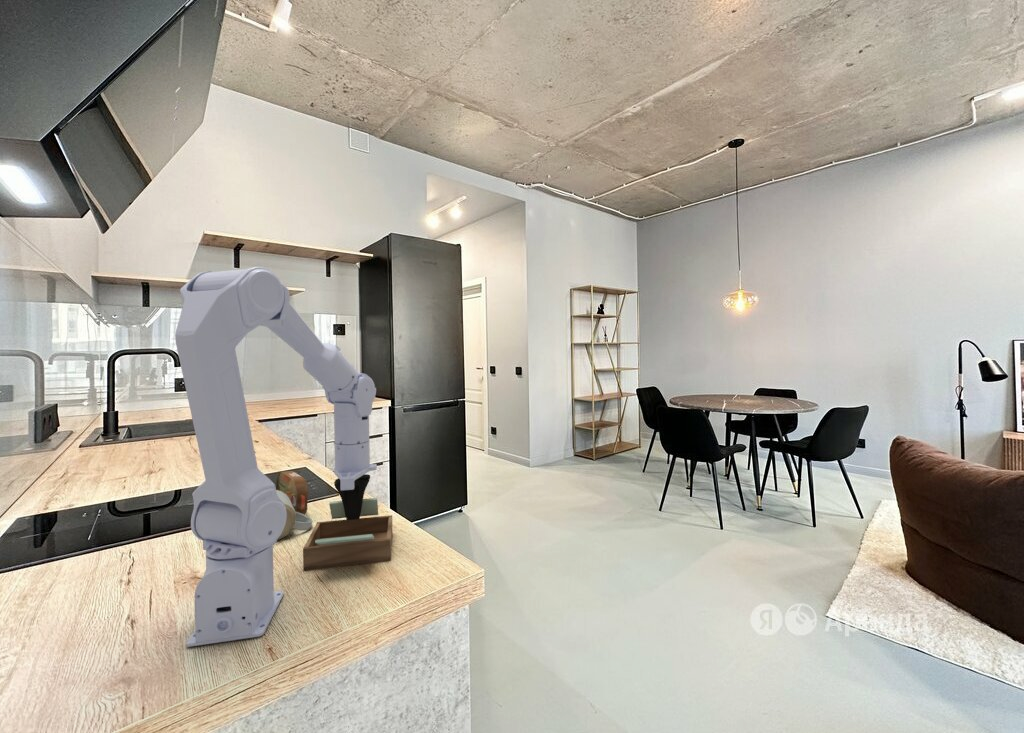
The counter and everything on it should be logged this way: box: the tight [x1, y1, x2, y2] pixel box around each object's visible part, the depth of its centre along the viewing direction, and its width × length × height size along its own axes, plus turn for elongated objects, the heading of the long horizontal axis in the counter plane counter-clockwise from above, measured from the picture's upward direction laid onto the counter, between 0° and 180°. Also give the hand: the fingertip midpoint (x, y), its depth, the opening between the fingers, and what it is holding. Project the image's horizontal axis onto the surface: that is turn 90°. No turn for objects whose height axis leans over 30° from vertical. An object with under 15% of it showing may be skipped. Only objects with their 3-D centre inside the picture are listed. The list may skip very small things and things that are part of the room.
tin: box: [275, 470, 309, 515], centre depth 91 cm, size 15×3×8 cm, turn 42°
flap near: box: [315, 534, 374, 545], centre depth 66 cm, size 8×4×1 cm, turn 104°
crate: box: [302, 515, 393, 572], centre depth 73 cm, size 11×13×3 cm
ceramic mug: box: [276, 490, 313, 541], centre depth 80 cm, size 11×8×8 cm
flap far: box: [329, 497, 379, 520], centre depth 77 cm, size 8×5×1 cm
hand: (353, 518), depth 75 cm, fingers closed
